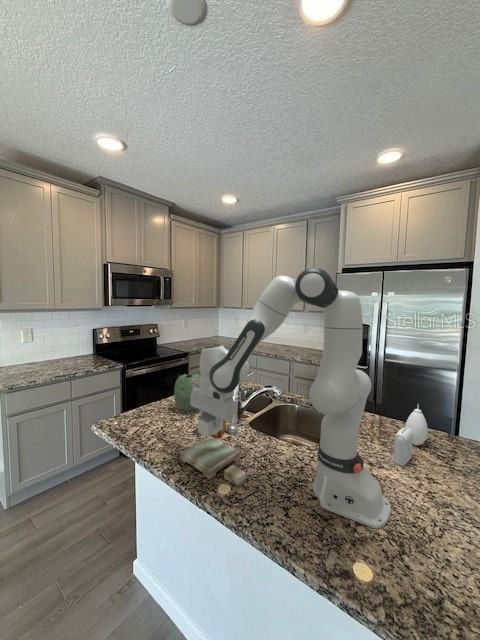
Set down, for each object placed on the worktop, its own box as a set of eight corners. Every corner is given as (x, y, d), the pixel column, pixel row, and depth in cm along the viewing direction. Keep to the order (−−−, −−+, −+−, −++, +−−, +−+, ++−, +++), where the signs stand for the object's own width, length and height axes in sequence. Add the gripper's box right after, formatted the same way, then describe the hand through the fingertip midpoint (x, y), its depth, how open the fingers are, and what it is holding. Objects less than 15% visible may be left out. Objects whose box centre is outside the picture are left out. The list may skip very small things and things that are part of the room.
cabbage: (182, 402, 156) (182, 368, 154) (211, 407, 149) (212, 372, 147) (165, 412, 141) (166, 375, 139) (197, 419, 135) (198, 380, 133)
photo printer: (400, 452, 110) (403, 423, 109) (412, 457, 107) (415, 427, 106) (391, 462, 103) (393, 431, 102) (404, 468, 100) (406, 435, 99)
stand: (240, 458, 103) (240, 450, 103) (209, 479, 91) (209, 470, 90) (210, 443, 113) (210, 435, 113) (179, 460, 101) (179, 451, 101)
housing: (207, 437, 96) (207, 421, 96) (197, 432, 100) (198, 416, 99) (222, 429, 103) (223, 413, 102) (213, 424, 106) (213, 410, 105)
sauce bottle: (411, 438, 122) (414, 399, 120) (430, 446, 115) (433, 405, 113) (400, 441, 118) (403, 401, 117) (418, 451, 111) (422, 408, 110)
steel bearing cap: (239, 432, 123) (240, 425, 123) (232, 436, 120) (232, 429, 119) (231, 428, 127) (231, 422, 126) (224, 432, 123) (224, 425, 123)
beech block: (245, 480, 91) (245, 472, 91) (237, 487, 88) (238, 478, 88) (232, 473, 95) (232, 464, 94) (224, 478, 92) (224, 470, 91)
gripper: (186, 383, 104) (186, 418, 105) (225, 397, 91) (224, 437, 92) (199, 379, 109) (198, 412, 110) (237, 392, 96) (236, 430, 97)
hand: (210, 424), depth 101 cm, fingers closed on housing, 5 cm apart
